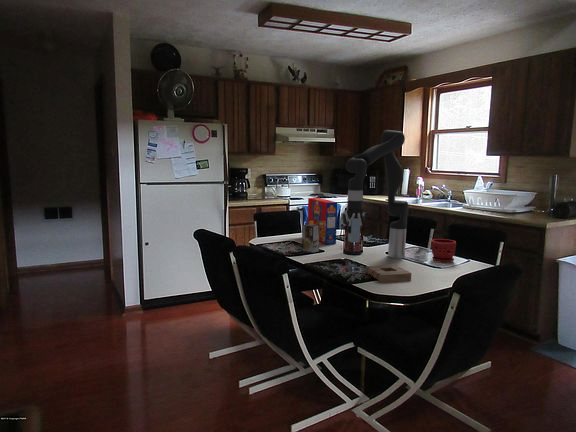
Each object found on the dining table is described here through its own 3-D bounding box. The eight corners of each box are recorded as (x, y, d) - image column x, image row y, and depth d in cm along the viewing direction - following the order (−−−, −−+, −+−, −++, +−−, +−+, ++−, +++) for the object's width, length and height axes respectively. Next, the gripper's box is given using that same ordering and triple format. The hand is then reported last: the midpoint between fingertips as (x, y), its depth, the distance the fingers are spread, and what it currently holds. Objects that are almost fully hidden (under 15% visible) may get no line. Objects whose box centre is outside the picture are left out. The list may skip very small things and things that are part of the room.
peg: (347, 240, 212) (348, 217, 210) (355, 240, 213) (356, 217, 211) (351, 242, 208) (352, 218, 206) (359, 242, 209) (360, 218, 207)
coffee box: (319, 251, 256) (320, 225, 253) (312, 252, 251) (313, 226, 249) (307, 248, 262) (308, 223, 259) (301, 250, 257) (301, 224, 255)
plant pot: (457, 260, 238) (458, 240, 236) (451, 265, 227) (453, 244, 226) (433, 257, 245) (435, 237, 244) (427, 261, 235) (428, 240, 233)
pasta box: (307, 236, 299) (308, 198, 295) (317, 236, 302) (318, 197, 298) (325, 244, 273) (326, 202, 269) (335, 244, 276) (337, 202, 272)
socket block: (365, 272, 211) (366, 266, 211) (394, 270, 215) (394, 264, 215) (380, 282, 196) (381, 275, 195) (411, 280, 200) (411, 273, 200)
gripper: (365, 198, 212) (363, 231, 215) (338, 198, 209) (337, 232, 211) (371, 199, 205) (370, 233, 208) (344, 200, 201) (343, 235, 204)
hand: (353, 232), depth 210 cm, fingers closed on peg, 4 cm apart
